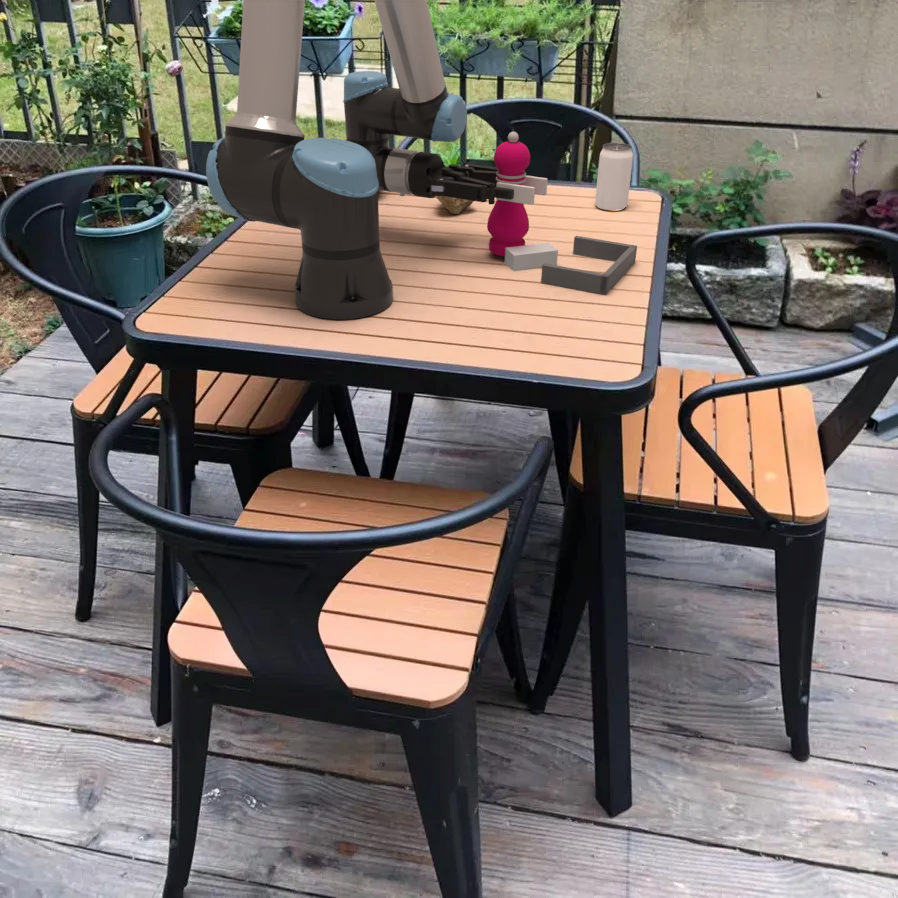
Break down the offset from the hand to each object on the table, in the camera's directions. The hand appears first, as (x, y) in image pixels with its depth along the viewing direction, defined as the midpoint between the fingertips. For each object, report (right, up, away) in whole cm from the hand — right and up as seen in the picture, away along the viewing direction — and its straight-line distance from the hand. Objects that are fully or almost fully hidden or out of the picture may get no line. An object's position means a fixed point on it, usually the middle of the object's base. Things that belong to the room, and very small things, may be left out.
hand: (539, 191), depth 143 cm
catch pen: (+9, -13, +2) cm, 16 cm away
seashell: (-14, +6, +32) cm, 35 cm away
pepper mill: (-5, -8, +8) cm, 12 cm away
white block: (-1, -11, +5) cm, 12 cm away
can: (+18, +6, +32) cm, 37 cm away
